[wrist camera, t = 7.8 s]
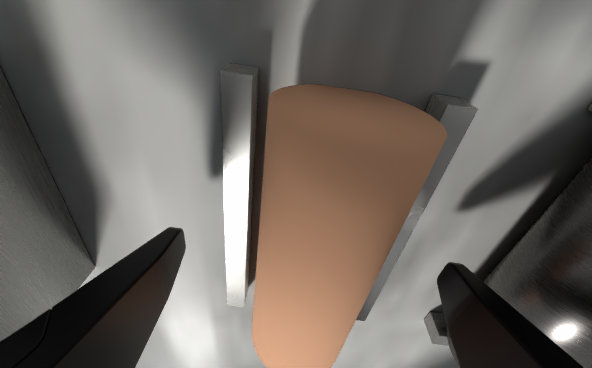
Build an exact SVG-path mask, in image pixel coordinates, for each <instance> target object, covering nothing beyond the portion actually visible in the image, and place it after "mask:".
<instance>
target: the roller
mask: <svg viewBox="0 0 592 368" xmlns="http://www.w3.org/2000/svg"><path fill="white" fill-rule="evenodd" d="M446 138H447V132H446V129H445V128H444V126H443V125H442V124H441V123H440V122H439V121H438V120H436V119H435V118H434V117H432V116H431V115H429V114H428V113H426V112H424V111H422V110H420V109H418V108H416V107H414V106H412V105H409V104H407V103H404V102H402V101H399V100H396V99H393V98H390V97H387V96H383V95H380V94H376V93H372V92H365V91H359V90H352V89H345V88H339V87H332V86H325V85H312V84H310V85H294V86H288V87H284V88H281V89H278V90H276V91H274V92H273V93H272V94H271V95H270V97H269V101H268V114H267V128H266V142H265V156H264V170H263V183H262V197H261V211H260V225H259V239H258V253H257V267H256V281H255V294H254V308H253V322H252V338H253V344H254V347H255V350H256V352H257V354H258V356H259V358H260V359H261V361H262V362H263V363H264V365H265V366H266V367H267V368H330V367H331V366H332V365H333V364H334V362H335V360H336V359H337V357H338V355H339V353H340V351H341V349H342V347H343V345H344V343H345V341H346V339H347V337H348V335H349V333H350V331H351V329H352V327H353V325H354V323H355V321H356V319H357V317H358V315H359V313H360V311H361V309H362V307H363V305H364V303H365V301H366V299H367V297H368V295H369V293H370V291H371V289H372V287H373V285H374V283H375V281H376V279H377V277H378V275H379V273H380V271H381V268H382V266H383V264H384V262H385V260H386V258H387V256H388V254H389V252H390V250H391V248H392V246H393V244H394V242H395V240H396V238H397V236H398V234H399V232H400V230H401V228H402V226H403V224H404V222H405V220H406V218H407V216H408V214H409V212H410V210H411V208H412V206H413V204H414V202H415V200H416V198H417V196H418V194H419V192H420V190H421V188H422V186H423V184H424V182H425V180H426V178H427V176H428V174H429V172H430V170H431V168H432V166H433V164H434V162H435V160H436V158H437V156H438V154H439V152H440V150H441V148H442V146H443V144H444V142H445V140H446Z"/></svg>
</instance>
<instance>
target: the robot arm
mask: <svg viewBox="0 0 592 368" xmlns="http://www.w3.org/2000/svg"><path fill="white" fill-rule="evenodd" d="M185 248H186V244H185V238H184V232H183V230H182V229H181V228H174V227H169V228H167V229H166V230H164V231H163V232H161V233H160V234H158V235H157V236H155V237H154V238H152V239H151V240H150V241H148V242H147V243H145V244H144V245H142V246H141V247H139V248H138V249H136V250H135V251H133V252H132V253H130V254H129V255H128V256H126V257H125V258H123V259H122V260H120V261H119V262H117V263H116V264H114V265H113V266H111V267H110V268H108V269H107V270H106V271H104V272H103V273H101V274H100V275H98V276H97V277H95V278H94V279H92V280H91V281H89V282H88V283H86V284H85V285H84V286H82V287H81V288H79V289H78V290H76V291H75V292H73V293H72V294H70V295H69V296H67V297H66V298H65V299H63V300H62V301H60V302H59V303H57V304H56V305H54V306H53V307H52V309H48V310H47V311H45V312H44V313H42V314H41V315H39V316H38V317H36V318H35V319H34V320H32V321H31V322H29V323H28V324H26V325H24V326H23V327H21V328H20V329H18V330H17V331H15V332H14V333H12V334H11V335H9V336H8V337H6V338H5V339H3V340H2V341H0V368H135V367H136V365H137V362H138V360H139V358H140V356H141V354H142V352H143V350H144V348H145V346H146V344H147V342H148V340H149V337H150V335H151V333H152V331H153V329H154V327H155V325H156V323H157V321H158V319H159V317H160V314H161V312H162V310H163V308H164V306H165V304H166V302H167V300H168V297H169V295H170V292H171V290H172V287H173V284H174V281H175V278H176V276H177V273H178V270H179V267H180V264H181V261H182V259H183V256H184V253H185ZM437 284H438V289H439V293H440V298H441V302H442V307H443V311H444V316H445V320H446V324H447V328H448V331H449V335H450V338H451V341H452V344H453V347H454V350H455V353H456V356H457V359H458V362H459V365H460V368H583V366H582V365H581V364H579V363H578V362H577V361H576V360H575V359H574V358H572V357H571V356H570V355H569V354H568V353H566V352H565V351H564V350H563V349H562V348H561V347H559V346H558V345H557V344H556V343H555V342H554V341H552V340H551V339H550V338H549V337H548V336H546V335H545V334H544V333H543V332H542V331H541V330H539V329H538V328H537V327H536V326H535V325H534V324H532V323H531V322H530V321H529V320H528V319H526V318H525V317H524V316H523V315H522V314H521V313H519V312H518V311H517V310H516V309H515V308H513V307H512V306H511V305H510V304H509V303H508V302H506V301H505V300H504V299H503V298H502V297H501V296H499V295H498V294H497V293H496V292H495V291H493V290H492V289H491V288H490V287H489V286H488V285H486V284H485V283H484V282H483V281H482V280H481V279H479V278H478V277H477V276H476V275H475V274H473V273H472V272H471V271H470V270H469V269H468V268H466V267H465V266H464V265H462V264H460V263H452V262H449V263H448V264H447V265H446V266H445V267H444V269H443V270H442V272H441V273H440V274H439V276H438V278H437Z"/></svg>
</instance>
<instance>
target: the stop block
mask: <svg viewBox="0 0 592 368" xmlns="http://www.w3.org/2000/svg"><path fill="white" fill-rule="evenodd" d="M94 268H95V266H94V264H93V262H92V260H91V258H90V256H89V254H88V251H87V249H86V247H85V245H84V243H83V241H82V239H81V237H80V235H79V232H78V230H77V228H76V226H75V224H74V222H73V220H72V218H71V216H70V214H69V211H68V209H67V207H66V205H65V203H64V201H63V199H62V197H61V195H60V192H59V190H58V188H57V186H56V184H55V182H54V180H53V178H52V176H51V174H50V171H49V169H48V167H47V165H46V163H45V161H44V159H43V157H42V155H41V152H40V150H39V148H38V146H37V144H36V142H35V140H34V138H33V136H32V133H31V131H30V129H29V127H28V125H27V123H26V121H25V119H24V117H23V115H22V112H21V110H20V108H19V106H18V104H17V102H16V100H15V98H14V96H13V93H12V91H11V89H10V87H9V85H8V83H7V81H6V79H5V77H4V75H3V72H2V70H1V68H0V341H2V340H3V339H5V338H6V337H8V336H9V335H11V334H12V333H14V332H15V331H17V330H18V329H20V328H21V327H23V326H24V325H26V324H28V323H29V322H31V321H32V320H34V319H35V318H36V317H38V316H39V315H41V314H42V313H44V312H45V311H47V310H48V309H52V307H53V306H54V305H56V304H57V303H59V302H60V301H62V300H63V299H65V298H66V297H67V296H69V295H70V294H72V293H73V292H75V291H76V290H77V289H78V288H79V287H80V286H81V284H82V283H83V282H84V281H85V279H86V278H87V277H88V276H89V275H90V273H91V272H92V271H93V270H94Z"/></svg>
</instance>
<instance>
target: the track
mask: <svg viewBox="0 0 592 368" xmlns="http://www.w3.org/2000/svg"><path fill="white" fill-rule="evenodd" d="M258 73H259V68H258V67H252V66H245V65H238V64H232V63H230V64H228V65H227V66H226V67H224V68H223V69H221V70H220V90H221V122H222V154H223V186H224V218H225V249H226V281H227V305H231V306H239V307H244V306H245V301H246V297H247V292H248V285H249V264H250V243H251V221H252V200H253V179H254V158H255V137H256V116H257V94H258ZM477 110H478V109H477V108H476V107H474V106H473V105H471V104H469V103H468V102H466V101H464V100H463V99H461V98H459V97H452V96H445V95H439V94H432V96H431V99H430V101H429V104H428V106H427V108H426V111H425V112H426V113H428V114H429V115H431V116H432V117H434V118H435V119H436V120H438V121H439V122H440V123H441V124H442V125H443V126H444V128H445V129H446V132H447V138H446V140H445V142H444V144H443V146H442V148H441V150H440V152H439V154H438V156H437V158H436V160H435V162H434V164H433V166H432V168H431V170H430V172H429V174H428V176H427V178H426V180H425V182H424V184H423V186H422V188H421V190H420V192H419V194H418V196H417V198H416V200H415V202H414V204H413V206H412V208H411V210H410V212H409V214H408V216H407V218H406V220H405V222H404V224H403V226H402V228H401V230H400V232H399V234H398V236H397V238H396V240H395V242H394V244H393V246H392V248H391V250H390V252H389V254H388V256H387V258H386V260H385V262H384V264H383V266H382V268H381V271H380V273H379V275H378V277H377V279H376V281H375V283H374V285H373V287H372V289H371V291H370V293H369V295H368V297H367V299H366V301H365V303H364V305H363V307H362V309H361V311H360V313H359V315H358V317H357V319H356V320H361V321H365V320H366V318H367V316H368V314H369V312H370V310H371V308H372V307H373V305H374V303H375V301H376V299H377V297H378V295H379V294H380V292H381V290H382V288H383V286H384V284H385V282H386V280H387V279H388V277H389V275H390V273H391V271H392V269H393V267H394V265H395V264H396V262H397V260H398V258H399V256H400V254H401V252H402V251H403V249H404V247H405V245H406V243H407V241H408V239H409V237H410V236H411V234H412V232H413V230H414V228H415V226H416V224H417V222H418V221H419V219H420V217H421V215H422V213H423V211H424V209H425V208H426V206H427V204H428V202H429V200H430V198H431V196H432V194H433V193H434V191H435V189H436V187H437V185H438V183H439V181H440V179H441V178H442V176H443V174H444V172H445V170H446V168H447V166H448V165H449V163H450V161H451V159H452V157H453V155H454V153H455V151H456V150H457V148H458V146H459V144H460V142H461V140H462V138H463V136H464V135H465V133H466V131H467V129H468V127H469V125H470V123H471V122H472V120H473V118H474V116H475V114H476V112H477ZM588 110H590V111H592V104H591V105H590V106H589V107H588ZM483 282H484V283H485V284H486V285H488V286H489V287H490V288H491V289H492V290H493V291H495V292H496V293H497V294H498V295H499V296H501V297H502V298H503V299H504V300H505V301H506V302H508V303H509V304H510V305H511V306H512V307H513V308H515V309H516V310H517V311H518V312H519V313H521V314H522V315H523V316H524V317H525V318H526V319H528V320H529V321H530V322H531V323H532V324H534V325H535V326H536V327H537V328H538V329H539V330H541V331H542V332H543V333H544V334H545V335H546V336H548V337H549V338H550V339H551V340H552V341H554V342H555V343H556V344H557V345H558V346H559V347H561V348H562V349H563V350H564V351H565V352H566V353H568V354H569V355H570V356H571V357H572V358H574V359H575V360H576V361H577V362H578V363H579V364H581V365H582V366H583V368H592V159H591V160H590V161H589V162H588V163H587V164H586V165H585V166H584V168H583V169H582V170H581V171H580V172H579V173H578V174H577V176H576V177H575V178H574V179H573V180H572V181H571V182H570V184H569V185H568V186H567V187H566V188H565V189H564V190H563V191H562V193H561V194H560V195H559V196H558V197H557V198H556V199H555V201H554V202H553V203H552V204H551V205H550V206H549V207H548V209H547V210H546V211H545V212H544V213H543V214H542V215H541V216H540V218H539V219H538V220H537V221H536V222H535V223H534V224H533V226H532V227H531V228H530V229H529V230H528V231H527V232H526V233H525V235H524V236H523V237H522V238H521V239H520V240H519V241H518V243H517V244H516V245H515V246H514V247H513V248H512V249H511V251H510V252H509V253H508V254H507V255H506V256H505V257H504V258H503V260H502V261H501V262H500V263H499V264H498V265H497V266H496V268H495V269H494V270H493V271H492V272H491V273H490V274H489V275H488V277H487V278H486V279H485V280H484V281H483ZM424 322H425V325H426V327H427V330H428V333H429V336H430V338H431V341H432V344H440V345H449V347H450V349H451V352H452V354H453V356H454V358H455V360H456V361H457V363H458V365H459V362H458V359H457V356H456V353H455V350H454V347H453V344H452V341H451V338H450V335H449V331H448V328H447V324H446V320H445V316H444V313H436V312H430V313H429V314H428V315H427V316H426V318H425V319H424ZM459 366H460V365H459Z"/></svg>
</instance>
